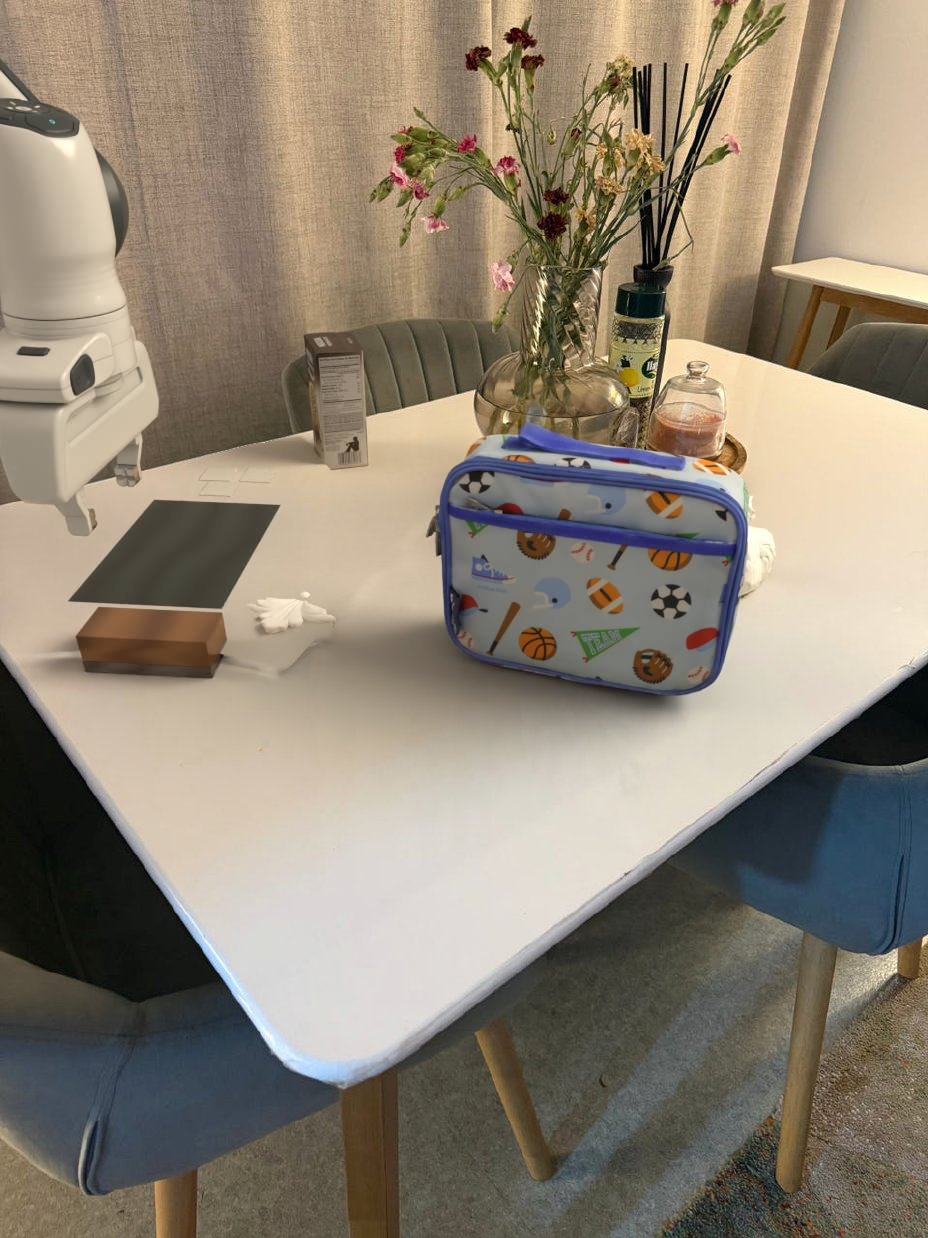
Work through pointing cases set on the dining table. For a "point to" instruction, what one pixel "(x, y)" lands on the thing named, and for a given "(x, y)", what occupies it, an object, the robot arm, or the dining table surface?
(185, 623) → the eraser
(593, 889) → the dining table surface
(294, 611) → the acanthus leaf ornament
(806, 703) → the dining table surface
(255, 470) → the white square tile
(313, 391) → the coffee box
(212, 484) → the chalk piece
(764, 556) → the bust
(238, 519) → the slate board
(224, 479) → the chalk piece
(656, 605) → the lunch box
